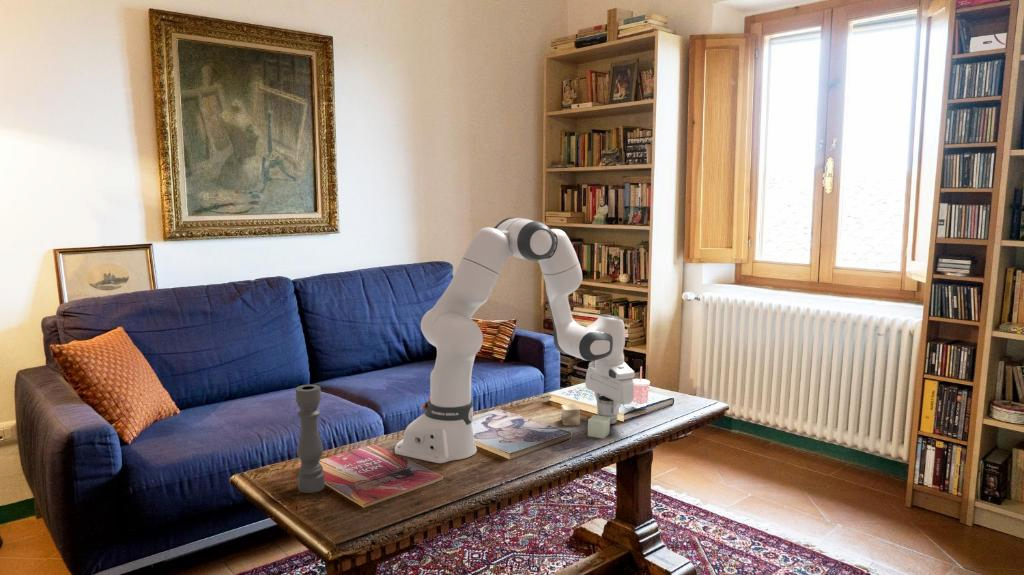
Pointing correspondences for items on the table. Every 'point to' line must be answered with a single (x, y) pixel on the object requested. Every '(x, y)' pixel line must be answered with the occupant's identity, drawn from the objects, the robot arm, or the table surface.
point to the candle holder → (309, 440)
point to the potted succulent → (606, 408)
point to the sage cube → (598, 426)
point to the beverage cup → (641, 389)
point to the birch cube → (570, 414)
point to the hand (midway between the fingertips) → (607, 410)
